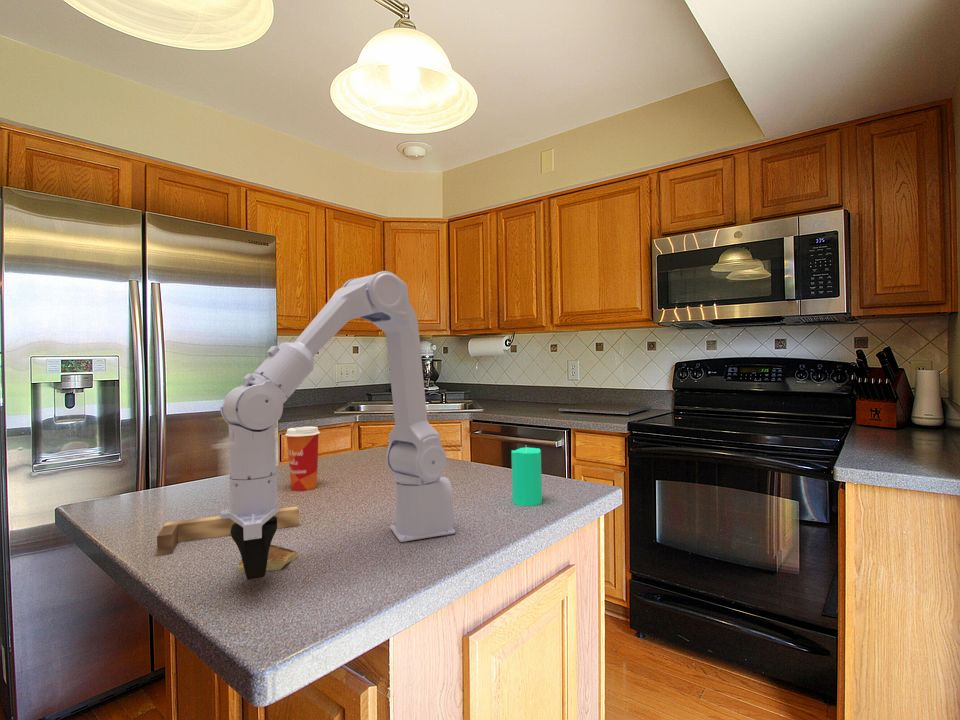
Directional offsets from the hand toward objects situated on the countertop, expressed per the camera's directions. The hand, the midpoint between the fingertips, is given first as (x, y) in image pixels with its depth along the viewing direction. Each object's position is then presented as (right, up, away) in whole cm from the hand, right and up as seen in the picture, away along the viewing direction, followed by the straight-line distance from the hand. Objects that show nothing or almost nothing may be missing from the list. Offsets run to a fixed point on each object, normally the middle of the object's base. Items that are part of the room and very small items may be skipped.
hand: (256, 576), depth 69 cm
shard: (-3, -2, +8) cm, 8 cm away
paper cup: (-11, -1, +52) cm, 53 cm away
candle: (+40, 0, +36) cm, 53 cm away
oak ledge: (-12, -1, +18) cm, 22 cm away
